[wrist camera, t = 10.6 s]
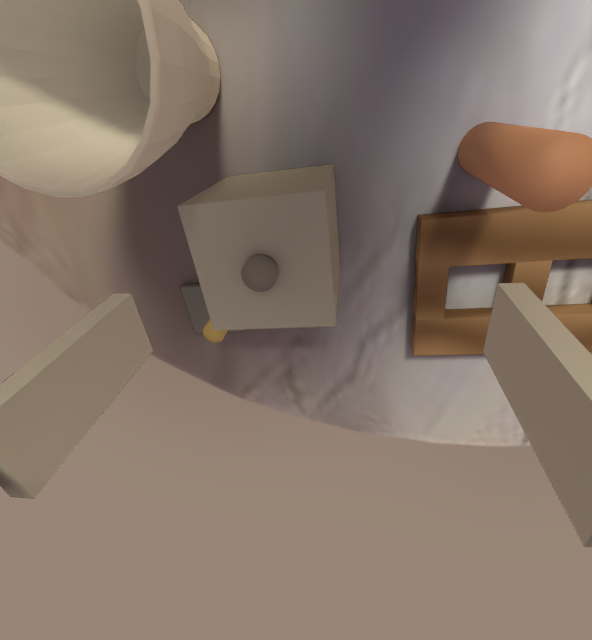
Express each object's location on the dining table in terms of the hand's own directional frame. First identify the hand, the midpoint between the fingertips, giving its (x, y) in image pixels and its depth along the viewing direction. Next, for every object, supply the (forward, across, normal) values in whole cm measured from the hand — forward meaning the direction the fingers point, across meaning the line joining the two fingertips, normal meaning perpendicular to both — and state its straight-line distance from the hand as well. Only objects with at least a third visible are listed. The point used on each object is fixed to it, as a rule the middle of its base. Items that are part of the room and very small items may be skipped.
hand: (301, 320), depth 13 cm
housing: (+16, -3, -1) cm, 17 cm away
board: (+16, +15, -7) cm, 23 cm away
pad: (+16, -11, -8) cm, 22 cm away
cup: (+17, -10, +10) cm, 22 cm away
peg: (+16, +10, +3) cm, 20 cm away
